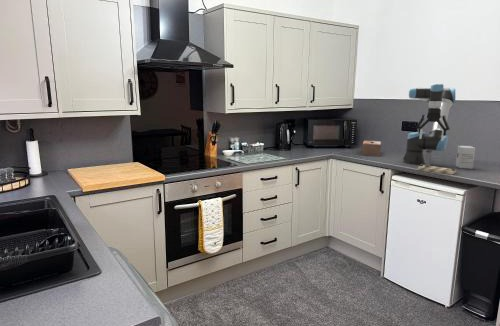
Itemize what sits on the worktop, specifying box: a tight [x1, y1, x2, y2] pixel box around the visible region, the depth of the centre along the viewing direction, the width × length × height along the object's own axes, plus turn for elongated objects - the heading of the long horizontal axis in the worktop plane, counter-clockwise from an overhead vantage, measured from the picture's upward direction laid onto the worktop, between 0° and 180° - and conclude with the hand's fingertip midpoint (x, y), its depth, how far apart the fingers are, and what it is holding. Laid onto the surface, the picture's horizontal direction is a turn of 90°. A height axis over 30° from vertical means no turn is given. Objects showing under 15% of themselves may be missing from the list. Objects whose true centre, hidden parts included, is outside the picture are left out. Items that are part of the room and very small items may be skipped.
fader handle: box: [424, 150, 433, 167], centre depth 237 cm, size 2×4×11 cm, turn 136°
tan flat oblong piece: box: [417, 164, 457, 175], centre depth 234 cm, size 21×10×3 cm, turn 46°
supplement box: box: [455, 145, 476, 170], centre depth 248 cm, size 9×9×15 cm
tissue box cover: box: [361, 140, 382, 157], centre depth 306 cm, size 26×14×10 cm, turn 158°
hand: (431, 139), depth 235 cm, fingers open, 13 cm apart
